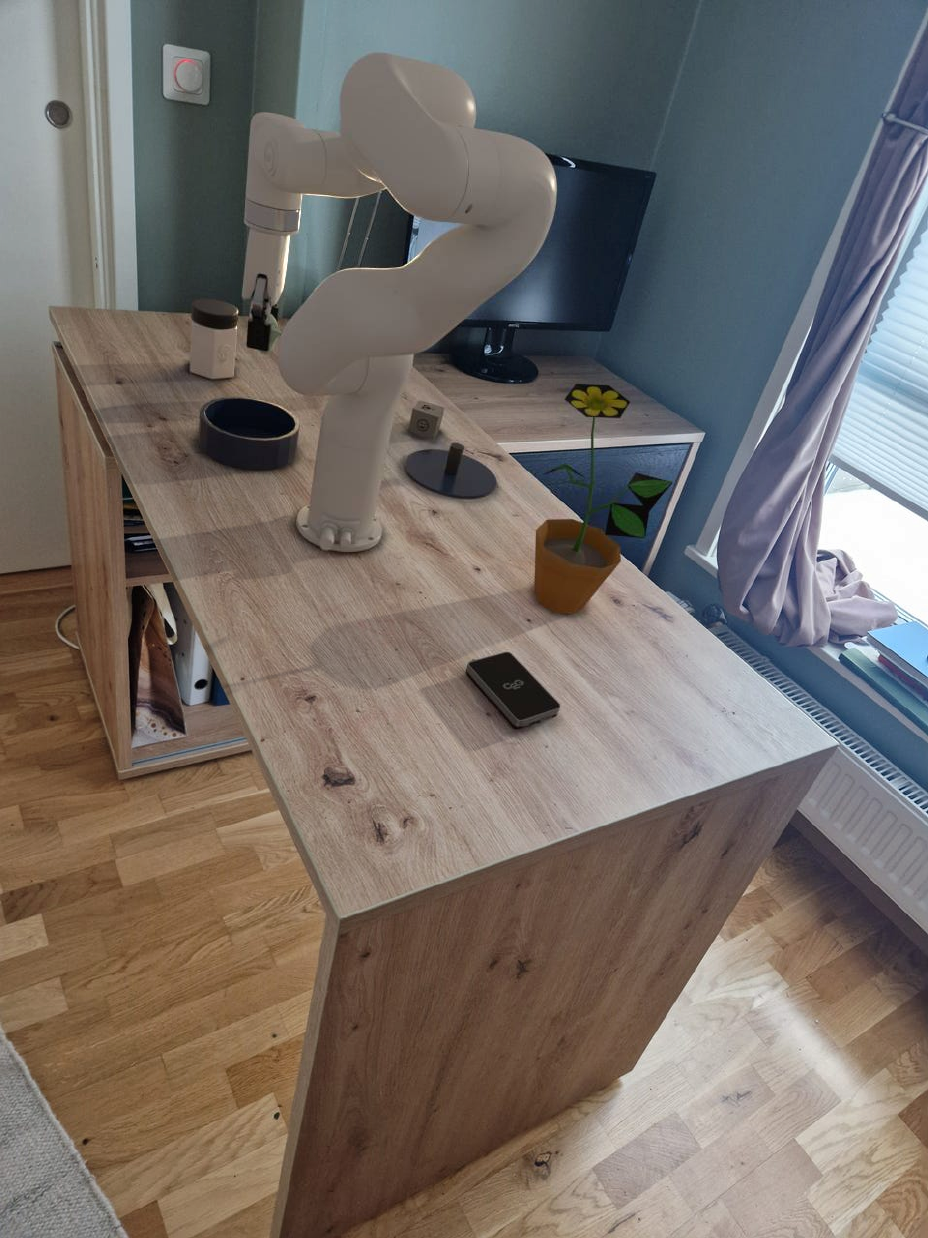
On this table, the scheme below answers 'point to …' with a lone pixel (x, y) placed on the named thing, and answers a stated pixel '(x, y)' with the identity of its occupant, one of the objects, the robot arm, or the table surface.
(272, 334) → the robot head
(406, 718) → the table surface
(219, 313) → the jar
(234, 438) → the tin
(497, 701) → the external hard drive
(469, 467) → the lid
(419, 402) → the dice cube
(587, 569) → the potted plant
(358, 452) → the robot arm
